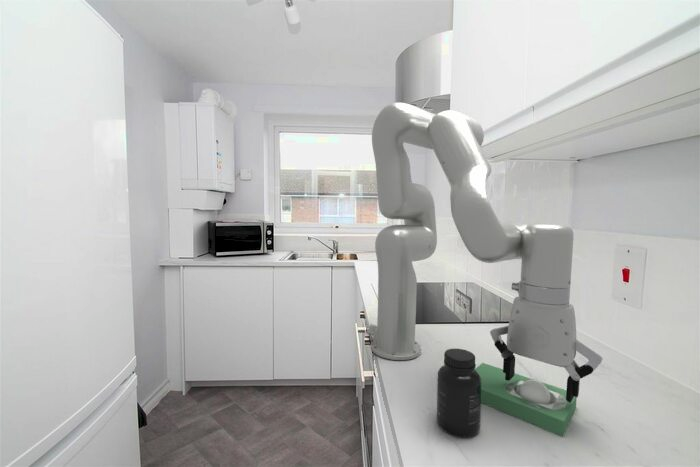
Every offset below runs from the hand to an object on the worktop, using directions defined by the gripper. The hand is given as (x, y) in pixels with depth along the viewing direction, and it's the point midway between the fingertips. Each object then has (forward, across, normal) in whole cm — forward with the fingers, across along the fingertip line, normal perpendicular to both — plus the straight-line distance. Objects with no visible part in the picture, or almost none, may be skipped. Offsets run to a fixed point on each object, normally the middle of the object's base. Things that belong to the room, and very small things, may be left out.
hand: (538, 387), depth 58 cm
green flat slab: (+4, -4, 0) cm, 6 cm away
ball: (+1, 0, 0) cm, 1 cm away
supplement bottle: (+4, -8, -15) cm, 17 cm away
